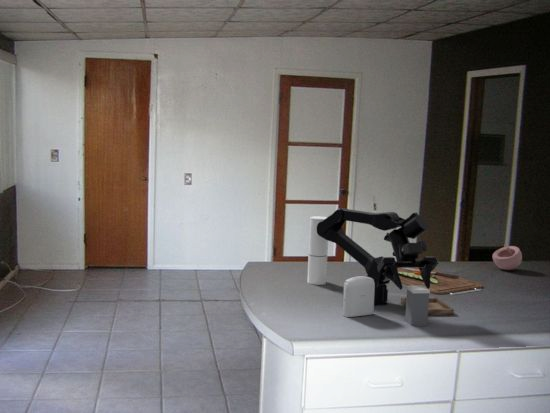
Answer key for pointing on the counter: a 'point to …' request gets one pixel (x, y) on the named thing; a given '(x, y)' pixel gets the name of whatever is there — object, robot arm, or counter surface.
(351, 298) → the white tombstone-shaped block
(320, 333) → the counter surface
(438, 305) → the walnut tray
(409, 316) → the grey upright rectangular prism
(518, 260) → the pink round bowl
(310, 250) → the cylindrical container
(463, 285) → the chopping board
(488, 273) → the counter surface
